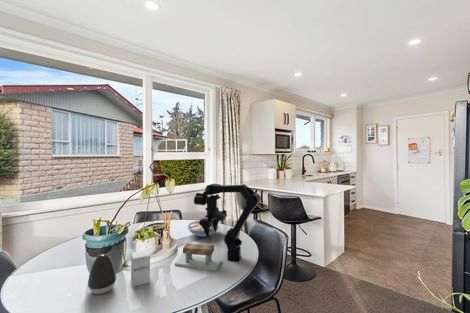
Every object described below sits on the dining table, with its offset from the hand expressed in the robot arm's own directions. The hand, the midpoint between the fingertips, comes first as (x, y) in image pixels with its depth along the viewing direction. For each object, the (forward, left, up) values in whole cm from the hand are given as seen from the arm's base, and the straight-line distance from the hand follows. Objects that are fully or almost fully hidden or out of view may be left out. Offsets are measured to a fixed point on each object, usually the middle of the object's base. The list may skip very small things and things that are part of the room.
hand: (211, 233), depth 133 cm
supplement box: (+22, +34, -12) cm, 42 cm away
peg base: (+3, +12, -12) cm, 17 cm away
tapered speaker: (+33, +44, -12) cm, 56 cm away
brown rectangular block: (+3, +12, -6) cm, 14 cm away
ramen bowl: (+15, -27, -12) cm, 33 cm away
